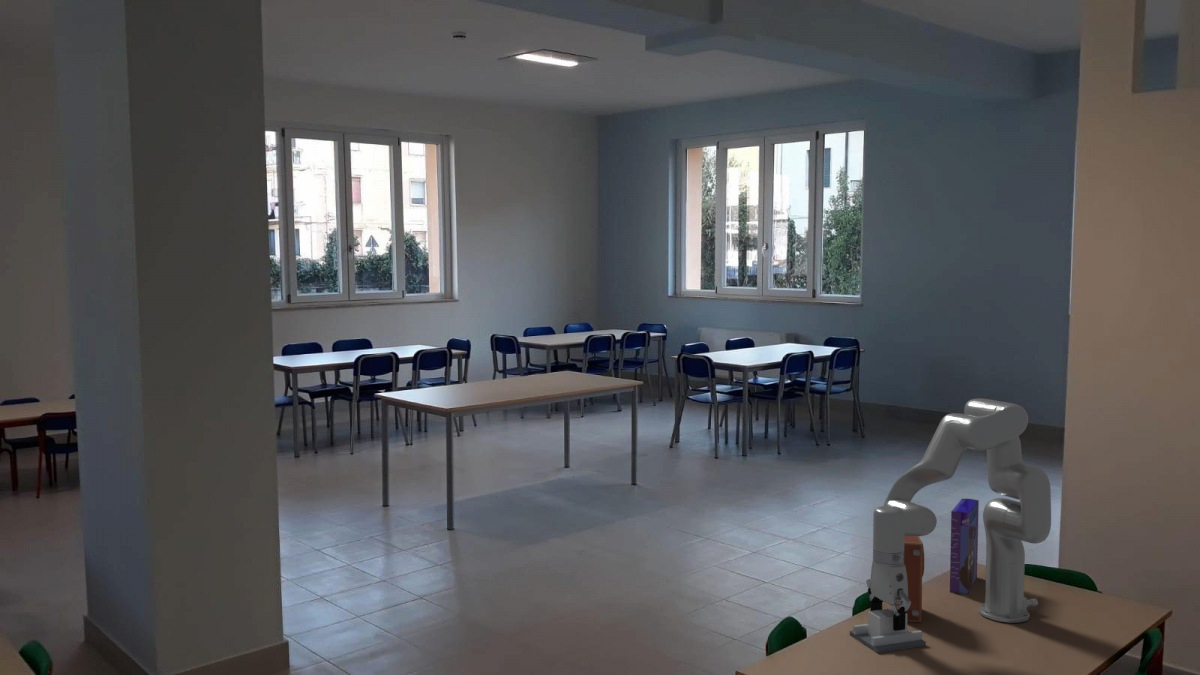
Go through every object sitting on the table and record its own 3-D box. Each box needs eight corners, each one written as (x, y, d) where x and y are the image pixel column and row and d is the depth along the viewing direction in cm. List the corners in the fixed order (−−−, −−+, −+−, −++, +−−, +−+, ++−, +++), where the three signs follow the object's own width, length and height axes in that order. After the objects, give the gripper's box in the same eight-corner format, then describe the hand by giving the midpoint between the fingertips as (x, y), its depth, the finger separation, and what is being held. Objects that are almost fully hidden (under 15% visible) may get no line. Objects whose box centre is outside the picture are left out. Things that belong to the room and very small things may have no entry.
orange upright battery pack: (917, 604, 261) (924, 624, 246) (891, 603, 262) (897, 622, 247) (918, 529, 259) (926, 545, 244) (892, 528, 260) (898, 543, 246)
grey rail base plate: (896, 628, 244) (896, 617, 243) (925, 645, 232) (925, 633, 232) (849, 634, 239) (849, 623, 239) (877, 652, 228) (877, 641, 228)
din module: (895, 630, 239) (895, 607, 239) (906, 637, 235) (907, 614, 234) (867, 634, 237) (868, 611, 237) (879, 641, 232) (879, 618, 232)
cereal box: (967, 594, 268) (968, 512, 266) (949, 592, 271) (951, 510, 269) (977, 577, 283) (978, 499, 281) (960, 575, 285) (961, 497, 284)
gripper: (922, 565, 227) (921, 633, 228) (881, 545, 244) (880, 609, 245) (896, 568, 225) (895, 637, 226) (856, 548, 241) (855, 612, 243)
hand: (887, 622), depth 236 cm, fingers open, 9 cm apart
